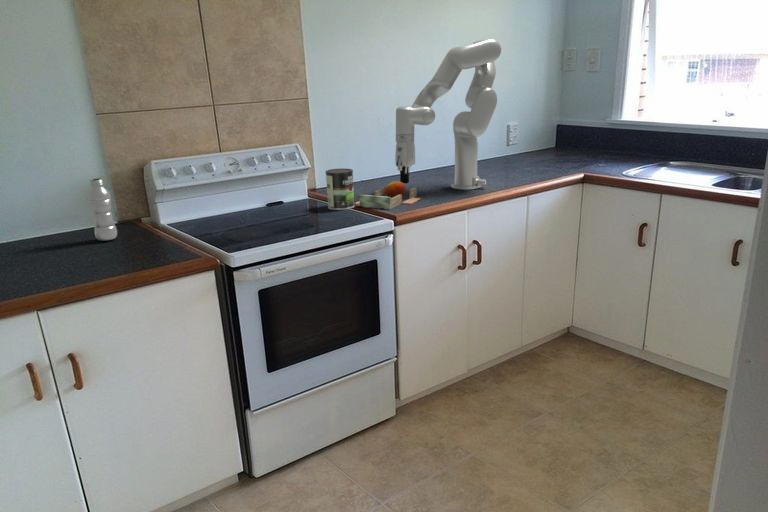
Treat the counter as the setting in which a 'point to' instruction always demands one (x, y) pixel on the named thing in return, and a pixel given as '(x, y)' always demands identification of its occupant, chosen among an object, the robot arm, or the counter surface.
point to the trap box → (384, 199)
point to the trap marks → (409, 201)
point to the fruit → (395, 189)
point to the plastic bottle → (102, 210)
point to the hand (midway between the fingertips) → (404, 182)
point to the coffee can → (340, 189)
